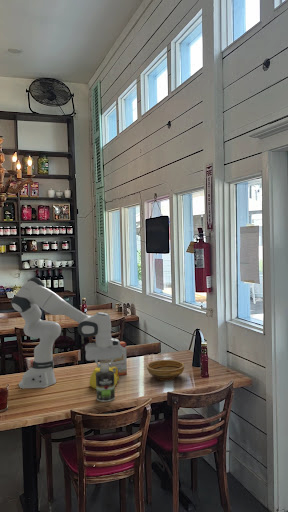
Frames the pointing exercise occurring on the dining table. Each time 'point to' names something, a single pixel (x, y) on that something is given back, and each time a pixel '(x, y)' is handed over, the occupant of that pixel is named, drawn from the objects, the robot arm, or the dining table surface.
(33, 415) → the dining table surface
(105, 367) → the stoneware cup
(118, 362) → the cracker box
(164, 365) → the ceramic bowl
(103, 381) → the coffee can
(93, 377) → the teapot
